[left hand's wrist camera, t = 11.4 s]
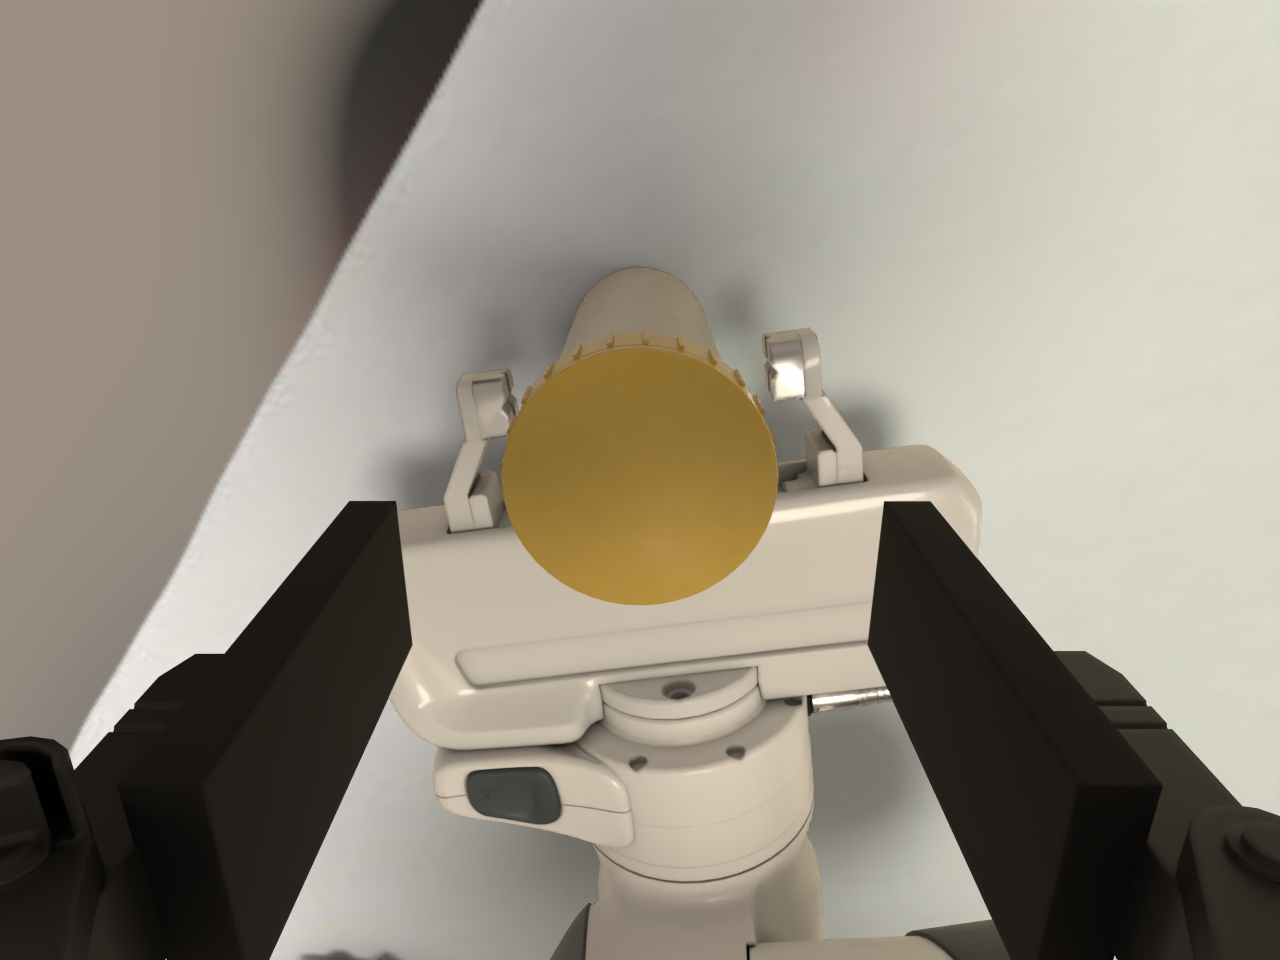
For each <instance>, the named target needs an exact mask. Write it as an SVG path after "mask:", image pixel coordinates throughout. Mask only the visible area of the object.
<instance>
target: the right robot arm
mask: <svg viewBox="0 0 1280 960" xmlns="http://www.w3.org/2000/svg"><path fill="white" fill-rule="evenodd" d="M762 342H763V353H764V354H765V356H766V358H767V359H768V360H767V362H766V364H765V366H764V368H765V379H766V386H767V388H768V390H769V391H770V392H771V396H772V398H773V400H774V401H779V400H788V399H798V398H800V399H801V400H802V402H803V403H804V405H805V406H806V407H807V409H808V410H809V411H810V413H811V414H812V416H813V417H814V418H815V420H816V421H817V423H818V424H819V425H820V427H821V428H822V429H823V432H822V431H821V430H820V429H813V430H808V431H807V432H806V433H805V444H806V459H801V460H793V461H785V462H777V463H778V471H779V477H778V489H777V497H776V502H775V506H774V510H773V513H772V516H771V519H770V521H769V524H768V526H767V528H766V531H765V532H764V534H763V536H762V538H761V539H760V541H759V543H758V544H757V546H756V547H755V548H754V550H753V551H752V552H751V554H750V555H749V556H748V558H747V559H746V560H745V561H744V562H743V563H742V564H741V565H740V566H739V567H738V568H737V569H736V570H735V571H733V572H732V573H731V574H729V575H728V576H727V577H726V578H724V579H723V580H722V581H720V582H718V583H717V584H715V585H713V586H712V587H710V588H708V589H706V590H704V591H702V592H700V593H698V594H695V595H693V596H690V597H687V598H684V599H681V600H677V601H673V602H668V603H663V604H655V605H624V604H618V603H611V602H606V601H603V600H599V599H596V598H592V597H590V596H587V595H585V594H582V593H580V592H578V591H575V590H574V589H572V588H570V587H568V586H567V585H565V584H563V583H561V582H560V581H559V580H557V579H556V578H554V577H553V576H552V575H550V574H549V573H548V572H547V571H546V570H544V569H543V568H542V567H541V566H540V565H539V564H538V563H537V562H536V561H535V560H534V559H533V557H532V556H531V555H530V554H529V552H528V551H527V550H526V549H525V547H524V546H523V544H522V543H521V541H520V539H519V538H518V536H517V535H516V533H515V530H514V528H513V526H512V524H511V522H510V519H509V516H508V513H507V510H506V506H505V503H504V497H502V493H501V489H500V484H499V480H498V476H497V473H496V472H495V471H486V472H483V473H482V474H481V475H480V473H479V470H480V467H481V464H482V462H483V459H484V456H485V453H486V450H487V448H488V445H489V442H490V439H491V438H497V437H503V436H509V434H506V432H507V429H508V427H509V425H510V423H511V421H512V419H513V416H514V415H517V416H518V414H519V410H518V404H517V399H516V398H515V397H514V396H513V395H512V394H511V393H510V392H511V390H512V388H513V386H514V384H513V379H512V375H511V372H510V370H509V369H501V370H493V371H484V372H474V373H468V374H463V375H462V376H461V378H460V379H459V381H458V382H457V387H456V392H457V401H458V406H459V410H460V415H461V419H462V424H463V428H464V433H465V437H466V438H465V439H464V441H463V443H462V446H461V449H460V451H459V454H458V457H457V460H456V463H455V466H454V468H453V471H452V474H451V477H450V480H449V483H448V485H447V488H446V491H445V494H444V497H443V501H444V505H438V506H430V507H422V508H414V509H405V510H398V511H397V514H398V523H399V531H400V540H401V549H402V557H403V566H404V575H405V583H406V592H407V601H408V609H409V618H410V626H411V635H412V644H413V645H412V647H411V650H410V652H409V654H408V656H407V658H406V661H405V663H404V665H403V667H402V669H401V672H400V674H399V676H398V678H397V680H396V683H395V685H394V687H393V689H392V691H391V694H390V696H389V699H390V701H391V703H392V705H393V707H394V708H395V710H396V712H397V713H398V715H399V716H400V718H401V719H402V721H403V722H404V723H405V724H406V725H407V727H408V728H409V729H410V730H411V731H413V732H414V733H415V734H416V735H417V736H419V737H420V738H422V739H423V740H425V741H427V742H429V743H431V744H434V745H436V746H438V748H437V753H436V759H435V766H434V774H433V784H434V789H435V794H436V797H437V799H438V801H439V803H440V805H441V806H442V807H443V808H444V809H445V810H446V811H448V812H450V813H452V814H455V815H458V816H462V817H467V818H474V819H481V820H488V821H496V822H502V823H509V824H515V825H521V826H527V827H532V828H537V829H542V830H547V831H552V832H556V833H560V834H564V835H568V836H571V837H575V838H578V839H581V840H585V841H588V842H591V843H592V844H593V846H594V848H595V850H596V852H597V855H598V858H599V861H600V869H599V877H598V897H599V900H598V901H597V902H596V903H595V904H590V903H589V904H588V905H587V906H586V907H585V908H584V909H583V910H582V911H581V912H580V913H579V915H578V916H577V917H576V919H575V920H574V921H573V923H572V924H571V926H570V927H569V929H568V930H567V932H566V934H565V935H564V937H563V939H562V940H561V942H560V944H559V945H558V947H557V949H556V950H555V952H554V954H553V956H552V957H551V959H550V960H1011V959H1010V957H1009V955H1008V953H1007V950H1006V948H1005V946H1004V944H1003V942H1002V939H1001V937H1000V935H999V933H998V931H997V928H996V926H995V924H994V922H993V920H985V921H978V922H971V923H964V924H957V925H950V926H943V927H936V928H929V929H922V930H915V931H911V932H909V933H907V934H906V935H905V936H899V937H876V938H853V939H829V940H823V910H822V890H821V878H820V869H819V865H818V860H817V857H816V854H815V851H814V848H813V845H812V843H811V841H810V839H809V837H808V835H807V832H808V829H809V826H810V822H811V819H812V814H813V806H814V782H813V769H812V755H811V742H810V730H809V721H808V716H810V715H811V713H817V712H818V713H819V712H828V711H837V710H845V709H853V708H858V707H861V706H867V705H868V704H870V705H871V704H875V703H876V702H877V703H883V702H892V701H893V700H892V698H891V696H890V694H889V691H888V689H887V687H886V685H885V683H884V680H883V678H882V676H881V674H880V672H879V669H878V667H877V665H876V663H875V661H874V658H873V656H872V654H871V652H870V650H869V647H868V645H867V644H868V635H869V626H870V618H871V609H872V601H873V592H874V583H875V575H876V566H877V557H878V549H879V540H880V531H881V523H882V514H883V505H884V501H931V502H932V503H933V505H934V506H935V507H936V508H937V510H938V511H939V512H940V513H941V514H942V516H943V517H944V518H945V519H946V521H947V522H948V523H949V524H950V525H951V527H952V528H953V529H954V530H955V532H956V533H957V534H958V535H959V537H960V538H961V539H962V540H963V541H964V543H965V544H966V545H967V546H968V548H969V549H970V550H971V551H972V552H973V554H974V555H975V556H976V557H977V559H978V552H979V543H980V532H981V517H982V509H981V501H980V498H979V495H978V493H977V491H976V489H975V488H974V486H973V485H972V483H971V482H970V481H969V480H968V478H967V477H966V476H965V475H964V474H963V473H962V472H961V470H960V469H958V468H957V467H956V466H955V465H954V464H953V463H952V462H951V461H949V460H948V459H947V458H946V457H944V456H943V455H942V454H941V453H939V452H938V451H937V450H935V449H934V448H932V447H930V446H928V445H911V446H903V447H895V448H888V449H880V450H872V451H864V452H862V445H861V444H860V442H859V441H858V439H857V438H856V436H855V435H854V434H853V432H852V431H851V429H850V428H849V427H848V425H847V424H846V422H845V421H844V419H843V418H842V417H841V415H840V414H839V412H838V411H837V410H836V408H835V407H834V405H833V404H832V402H831V401H830V400H829V398H828V397H827V395H826V394H825V393H824V391H823V390H822V383H821V367H820V350H819V344H818V340H817V336H816V334H815V333H814V332H813V331H812V330H811V329H810V328H803V329H796V330H788V331H782V332H775V333H768V334H763V337H762Z"/></svg>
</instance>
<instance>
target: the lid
mask: <svg viewBox="0 0 1280 960" xmlns="http://www.w3.org/2000/svg"><path fill="white" fill-rule="evenodd" d="M521 404H523V405H522V407H521V409H520V411H519V414H518V416H517V415H514V416H513V419H512V421H511V423H510V425H509V427H508V429H507V432H506V434H509V436H508V440H507V444H506V447H505V451H504V456H503V458H502V461H501V466H502V490H503V496H504V503H505V506H506V510H507V513H508V516H509V519H510V522H511V524H512V526H513V528H514V530H515V533H516V535H517V536H518V538H519V539H520V541H521V543H522V544H523V546H524V547H525V549H526V550H527V551H528V552H529V554H530V555H531V556H532V557H533V559H534V560H535V561H536V562H537V563H538V564H539V565H540V566H541V567H542V568H543V569H544V570H546V571H547V572H548V573H549V574H550V575H552V576H553V577H554V578H556V579H557V580H559V581H560V582H561V583H563V584H565V585H567V586H568V587H570V588H572V589H574V590H575V591H578V592H580V593H582V594H585V595H587V596H590V597H592V598H596V599H599V600H603V601H606V602H611V603H618V604H624V605H655V604H663V603H668V602H673V601H677V600H681V599H684V598H687V597H690V596H693V595H695V594H698V593H700V592H702V591H704V590H706V589H708V588H710V587H712V586H713V585H715V584H717V583H718V582H720V581H722V580H723V579H724V578H726V577H727V576H728V575H729V574H731V573H732V572H733V571H735V570H736V569H737V568H738V567H739V566H740V565H741V564H742V563H743V562H744V561H745V560H746V559H747V558H748V556H749V555H750V554H751V552H752V551H753V550H754V548H755V547H756V546H757V544H758V543H759V541H760V539H761V538H762V536H763V534H764V532H765V531H766V528H767V526H768V524H769V521H770V519H771V516H772V513H773V510H774V506H775V502H776V497H777V489H778V477H779V471H778V463H777V457H776V451H775V447H774V445H776V440H775V438H774V435H773V433H772V431H771V429H770V427H769V425H766V422H765V420H764V418H763V416H762V414H764V413H765V411H764V409H763V407H762V405H761V403H760V400H759V398H758V397H757V395H756V396H754V397H753V395H752V394H751V392H750V391H749V389H748V388H747V386H746V385H745V383H744V381H743V378H742V376H741V374H740V372H739V371H738V370H737V369H736V370H735V371H733V370H732V369H731V368H730V367H729V366H728V365H726V364H725V363H724V362H723V361H722V360H721V359H719V358H718V357H716V355H715V352H714V350H712V349H709V350H708V351H707V350H705V349H703V348H701V347H699V346H697V345H695V344H693V343H691V342H688V341H685V340H683V336H681V335H678V336H677V338H675V337H671V336H666V335H660V334H653V333H648V330H645V329H644V330H643V333H628V334H619V335H614V333H613V332H611V333H609V334H608V337H605V338H601V339H598V340H595V341H593V342H590V343H587V344H585V345H583V346H582V345H581V343H579V344H577V345H576V347H575V350H573V351H571V352H570V353H568V354H567V355H565V356H564V357H562V358H561V359H560V360H558V361H557V362H556V363H553V362H552V361H551V362H550V363H549V364H548V366H547V368H546V371H545V373H544V374H543V375H542V376H541V377H540V379H539V380H538V381H537V382H536V383H535V385H534V386H533V387H530V386H529V387H528V388H527V390H526V392H525V394H524V396H523V398H522V401H521Z"/></svg>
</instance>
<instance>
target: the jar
mask: <svg viewBox="0 0 1280 960" xmlns="http://www.w3.org/2000/svg"><path fill="white" fill-rule="evenodd" d="M644 329H645V330H648V333H653V334H660V335H666V336H671V337H675V338H677V336H678V335H681V336H683V340H685V341H688V342H691V343H693V344H695V345H697V346H699V347H701V348H703V349H705V350H707V351H708V350H709V349H712V350H714V352H715V355H716V357H718V358H719V359H721V358H720V355H719V353H718V350H717V348H716V345H715V342H714V340H713V337H712V334H711V332H710V329H709V326H708V324H707V321H706V319H705V316H704V313H703V311H702V308H701V306H700V304H699V302H698V300H697V299H696V297H695V296H694V294H693V293H692V292H691V291H690V290H689V288H688V287H687V286H686V285H684V284H683V283H682V282H681V281H680V280H678V279H677V278H675V277H674V276H672V275H669V274H667V273H665V272H662V271H659V270H656V269H651V268H629V269H624V270H620V271H618V272H615V273H612V274H610V275H609V276H607V277H605V278H603V279H602V280H601V281H599V282H598V283H597V284H596V285H595V286H593V287H592V288H591V289H590V291H589V292H588V293H587V294H586V296H585V297H584V299H583V300H582V302H581V304H580V306H579V308H578V311H577V313H576V316H575V318H574V321H573V324H572V326H571V329H570V332H569V334H568V337H567V340H566V342H565V345H564V347H563V350H562V353H561V355H560V358H559V360H560V359H561V358H562V357H564V356H565V355H567V354H568V353H570V352H571V351H573V350H575V347H576V345H577V344H579V343H581V345H582V346H583V345H585V344H587V343H590V342H593V341H595V340H598V339H601V338H605V337H608V334H609V333H611V332H613V333H614V335H619V334H628V333H643V330H644Z"/></svg>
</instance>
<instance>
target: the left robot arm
mask: <svg viewBox="0 0 1280 960" xmlns="http://www.w3.org/2000/svg"><path fill="white" fill-rule="evenodd" d="M412 645H413V644H412V635H411V626H410V618H409V609H408V601H407V592H406V583H405V575H404V566H403V557H402V549H401V540H400V531H399V523H398V514H397V505H396V501H349V502H348V503H347V505H346V506H345V507H344V508H343V510H342V511H341V512H340V513H339V514H338V516H337V517H336V518H335V519H334V521H333V522H332V523H331V524H330V525H329V527H328V528H327V529H326V530H325V532H324V533H323V534H322V535H321V536H320V538H319V539H318V540H317V541H316V543H315V544H314V545H313V546H312V548H311V549H310V550H309V551H308V552H307V554H306V555H305V556H304V557H303V559H302V560H301V561H300V562H299V563H298V565H297V566H296V567H295V568H294V570H293V571H292V572H291V573H290V574H289V576H288V577H287V578H286V579H285V581H284V582H283V583H282V584H281V585H280V587H279V588H278V589H277V590H276V592H275V593H274V594H273V595H272V596H271V598H270V599H269V600H268V601H267V603H266V604H265V605H264V606H263V607H262V609H261V610H260V611H259V612H258V614H257V615H256V616H255V617H254V618H253V620H252V621H251V622H250V623H249V625H248V626H247V627H246V628H245V629H244V631H243V632H242V633H241V634H240V636H239V637H238V638H237V639H236V640H235V642H234V643H233V644H232V645H231V647H230V648H229V649H228V650H227V651H226V653H225V654H195V655H193V656H191V657H190V658H188V659H187V660H185V661H183V662H182V663H180V664H179V665H177V666H175V667H174V668H172V669H171V670H169V671H168V672H166V673H164V674H163V675H161V676H160V677H158V678H157V680H156V681H155V682H154V683H153V684H152V685H151V686H150V687H149V688H148V689H147V691H146V692H145V693H144V694H143V695H142V696H141V697H140V698H139V699H138V701H137V702H136V703H135V704H134V705H135V706H134V709H129V710H128V712H127V713H126V714H125V715H124V716H123V717H122V718H121V719H120V720H119V721H118V723H117V724H116V725H115V726H114V731H113V732H109V733H108V734H107V735H106V736H105V737H104V738H103V739H102V740H101V741H100V742H99V744H98V745H97V746H96V747H95V748H94V749H93V750H92V751H91V752H90V753H89V755H88V756H87V757H86V758H85V759H84V760H83V761H82V762H81V763H80V765H79V766H78V767H77V768H76V769H75V770H74V769H73V765H72V762H71V759H70V756H69V752H68V750H67V749H66V748H65V747H63V746H62V745H61V744H59V743H58V742H57V741H55V740H53V739H46V738H38V737H31V736H30V737H22V738H13V739H5V740H0V960H165V959H167V960H269V959H270V957H271V955H272V953H273V950H274V948H275V946H276V944H277V942H278V939H279V937H280V935H281V933H282V931H283V928H284V926H285V924H286V922H287V920H288V917H289V915H290V913H291V911H292V909H293V906H294V904H295V902H296V900H297V898H298V896H299V893H300V891H301V889H302V887H303V885H304V882H305V880H306V878H307V876H308V874H309V871H310V869H311V867H312V865H313V863H314V860H315V858H316V856H317V854H318V852H319V849H320V847H321V845H322V843H323V841H324V838H325V836H326V834H327V832H328V830H329V827H330V825H331V823H332V821H333V819H334V816H335V814H336V812H337V810H338V808H339V805H340V803H341V801H342V799H343V797H344V795H345V792H346V790H347V788H348V786H349V784H350V781H351V779H352V777H353V775H354V773H355V770H356V768H357V766H358V764H359V762H360V759H361V757H362V755H363V753H364V751H365V748H366V746H367V744H368V742H369V740H370V737H371V735H372V733H373V731H374V729H375V726H376V724H377V722H378V720H379V718H380V715H381V713H382V711H383V709H384V707H385V705H386V702H387V700H388V698H389V696H390V694H391V691H392V689H393V687H394V685H395V683H396V680H397V678H398V676H399V674H400V672H401V669H402V667H403V665H404V663H405V661H406V658H407V656H408V654H409V652H410V650H411V647H412ZM867 645H868V647H869V650H870V652H871V654H872V656H873V658H874V661H875V663H876V665H877V667H878V669H879V672H880V674H881V676H882V678H883V680H884V683H885V685H886V687H887V689H888V691H889V694H890V696H891V698H892V700H893V702H894V705H895V707H896V709H897V711H898V713H899V715H900V718H901V720H902V722H903V724H904V726H905V729H906V731H907V733H908V735H909V737H910V740H911V742H912V744H913V746H914V748H915V751H916V753H917V755H918V757H919V759H920V762H921V764H922V766H923V768H924V770H925V773H926V775H927V777H928V779H929V781H930V784H931V786H932V788H933V790H934V792H935V795H936V797H937V799H938V801H939V803H940V805H941V808H942V810H943V812H944V814H945V816H946V819H947V821H948V823H949V825H950V827H951V830H952V832H953V834H954V836H955V838H956V841H957V843H958V845H959V847H960V849H961V852H962V854H963V856H964V858H965V860H966V863H967V865H968V867H969V869H970V871H971V874H972V876H973V878H974V880H975V882H976V885H977V887H978V889H979V891H980V893H981V896H982V898H983V900H984V902H985V904H986V906H987V909H988V911H989V913H990V915H991V917H992V920H993V922H994V924H995V926H996V928H997V931H998V933H999V935H1000V937H1001V939H1002V942H1003V944H1004V946H1005V948H1006V950H1007V953H1008V955H1009V957H1010V959H1011V960H1113V959H1114V955H1115V957H1116V958H1117V960H1280V816H1278V815H1275V814H1272V813H1269V812H1266V811H1263V810H1261V809H1258V808H1251V807H1244V806H1242V805H1241V804H1240V803H1239V802H1238V801H1237V800H1236V799H1235V798H1234V797H1233V795H1232V794H1231V793H1230V792H1229V791H1228V790H1227V789H1226V788H1225V787H1224V786H1223V785H1222V783H1221V782H1220V781H1219V780H1218V779H1217V778H1216V777H1215V776H1214V775H1213V774H1212V772H1211V771H1210V770H1209V769H1208V768H1207V767H1206V766H1205V765H1204V764H1203V763H1202V761H1201V760H1200V759H1199V758H1198V757H1197V756H1196V755H1195V754H1194V753H1193V752H1192V751H1191V749H1190V748H1189V747H1188V746H1187V745H1186V744H1185V743H1184V742H1183V741H1182V740H1181V738H1180V737H1179V736H1178V735H1177V734H1176V733H1175V732H1174V731H1173V730H1172V729H1167V723H1166V722H1165V721H1164V720H1163V719H1162V718H1161V717H1160V715H1159V714H1158V713H1157V712H1156V711H1155V710H1154V709H1153V708H1152V707H1151V706H1147V705H1146V700H1145V699H1144V698H1143V697H1142V696H1141V695H1140V694H1139V692H1138V691H1137V690H1136V689H1135V688H1134V687H1133V686H1132V685H1131V684H1130V683H1129V681H1128V680H1127V679H1126V678H1125V677H1124V676H1123V675H1122V674H1121V673H1119V672H1118V671H1116V670H1114V669H1113V668H1111V667H1110V666H1108V665H1106V664H1105V663H1103V662H1102V661H1100V660H1098V659H1097V658H1095V657H1094V656H1092V655H1090V654H1089V653H1087V652H1086V651H1053V650H1052V649H1051V648H1050V647H1049V645H1048V644H1047V643H1046V642H1045V640H1044V639H1043V638H1042V637H1041V636H1040V634H1039V633H1038V632H1037V631H1036V629H1035V628H1034V627H1033V626H1032V625H1031V623H1030V622H1029V621H1028V620H1027V618H1026V617H1025V616H1024V615H1023V614H1022V612H1021V611H1020V610H1019V609H1018V607H1017V606H1016V605H1015V604H1014V603H1013V601H1012V600H1011V599H1010V598H1009V596H1008V595H1007V594H1006V593H1005V592H1004V590H1003V589H1002V588H1001V587H1000V585H999V584H998V583H997V582H996V581H995V579H994V578H993V577H992V576H991V574H990V573H989V572H988V571H987V570H986V568H985V567H984V566H983V565H982V563H981V562H980V561H979V560H978V559H977V557H976V556H975V555H974V554H973V552H972V551H971V550H970V549H969V548H968V546H967V545H966V544H965V543H964V541H963V540H962V539H961V538H960V537H959V535H958V534H957V533H956V532H955V530H954V529H953V528H952V527H951V525H950V524H949V523H948V522H947V521H946V519H945V518H944V517H943V516H942V514H941V513H940V512H939V511H938V510H937V508H936V507H935V506H934V505H933V503H932V502H931V501H884V505H883V514H882V523H881V531H880V540H879V549H878V557H877V566H876V575H875V583H874V592H873V601H872V609H871V618H870V626H869V635H868V644H867Z"/></svg>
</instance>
